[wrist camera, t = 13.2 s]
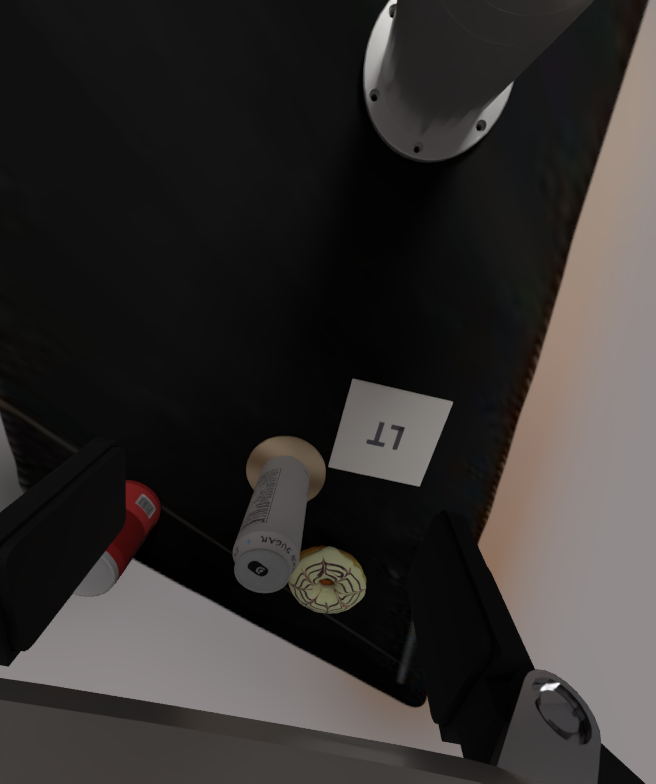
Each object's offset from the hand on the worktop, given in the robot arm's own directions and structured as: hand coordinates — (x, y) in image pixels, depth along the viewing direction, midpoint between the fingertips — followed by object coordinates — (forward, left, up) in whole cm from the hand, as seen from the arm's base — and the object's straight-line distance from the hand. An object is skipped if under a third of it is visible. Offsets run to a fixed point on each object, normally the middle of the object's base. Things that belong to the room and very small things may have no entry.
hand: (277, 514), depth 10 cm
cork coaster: (+19, 0, -29) cm, 35 cm away
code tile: (+11, +11, -29) cm, 33 cm away
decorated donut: (+34, +9, -30) cm, 46 cm away
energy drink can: (+19, 0, -29) cm, 34 cm away
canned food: (+29, -19, -30) cm, 45 cm away
